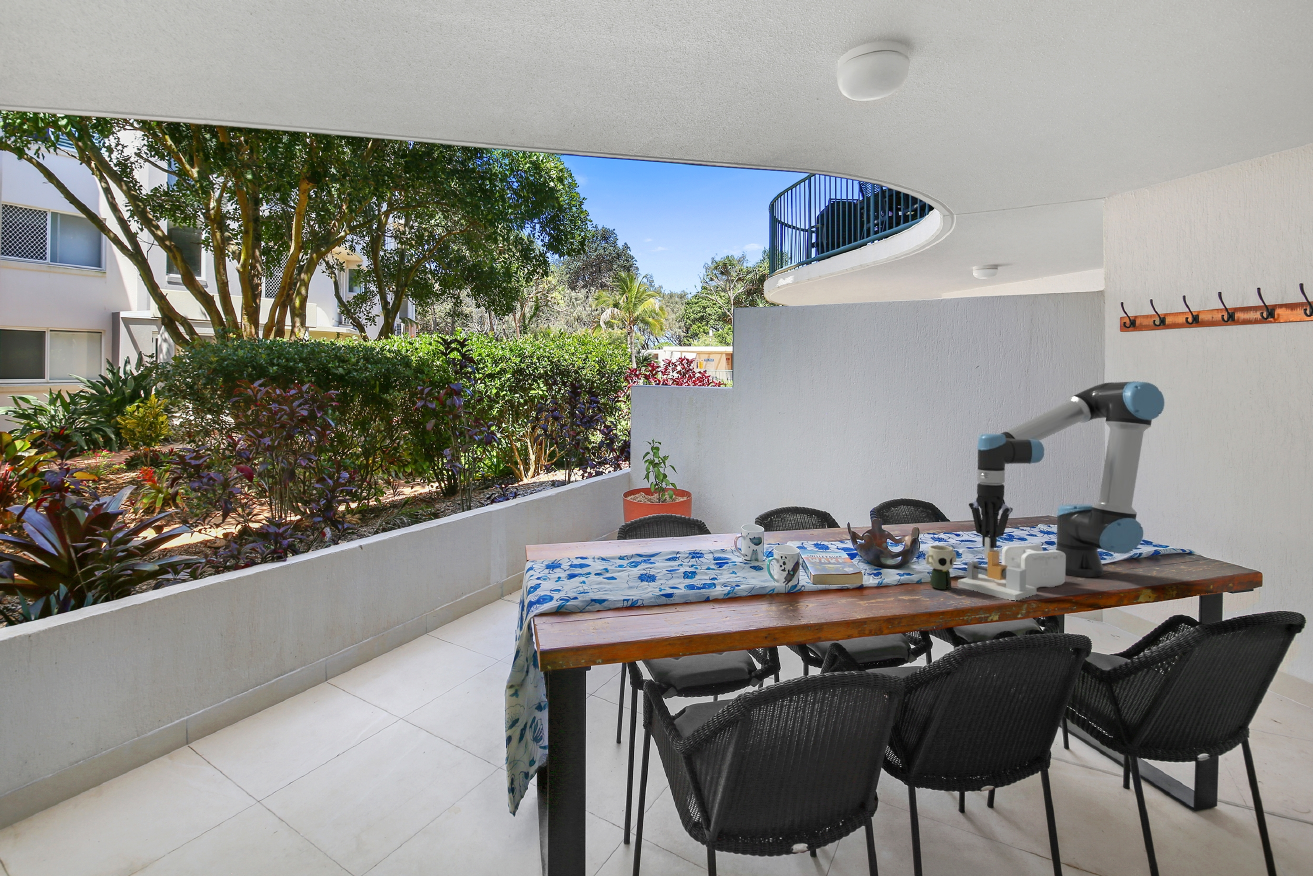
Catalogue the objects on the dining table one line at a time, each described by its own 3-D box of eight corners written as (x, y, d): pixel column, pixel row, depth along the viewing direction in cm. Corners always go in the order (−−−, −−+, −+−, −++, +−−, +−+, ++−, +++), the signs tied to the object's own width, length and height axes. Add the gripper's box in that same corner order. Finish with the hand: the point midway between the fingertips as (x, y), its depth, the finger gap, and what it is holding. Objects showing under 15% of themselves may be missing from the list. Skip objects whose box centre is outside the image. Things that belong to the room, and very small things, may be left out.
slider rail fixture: (979, 580, 205) (979, 555, 205) (1036, 594, 190) (1037, 567, 189) (957, 586, 199) (958, 561, 198) (1015, 601, 184) (1015, 574, 183)
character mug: (933, 592, 193) (933, 551, 192) (918, 586, 200) (918, 546, 199) (963, 589, 195) (963, 549, 194) (947, 583, 202) (948, 543, 201)
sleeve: (994, 575, 197) (994, 550, 196) (1007, 578, 193) (1007, 552, 193) (987, 577, 195) (987, 552, 194) (1000, 580, 191) (1000, 554, 191)
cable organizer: (1040, 577, 207) (1041, 543, 206) (1066, 587, 196) (1067, 550, 196) (1000, 580, 204) (1001, 546, 203) (1025, 590, 194) (1026, 553, 193)
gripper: (963, 482, 198) (962, 555, 199) (1004, 486, 187) (1003, 564, 188) (977, 480, 202) (976, 551, 203) (1018, 484, 191) (1016, 560, 192)
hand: (989, 557), depth 196 cm, fingers closed
